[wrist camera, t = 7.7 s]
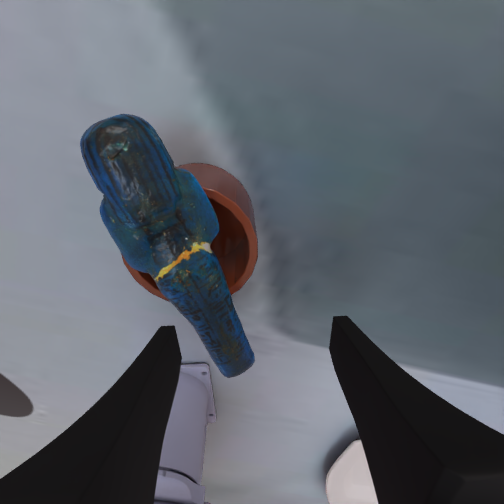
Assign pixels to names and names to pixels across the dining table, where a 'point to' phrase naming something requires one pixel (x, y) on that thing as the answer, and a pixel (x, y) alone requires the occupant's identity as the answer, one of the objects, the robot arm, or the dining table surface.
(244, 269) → the cup
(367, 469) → the plate
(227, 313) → the figurine
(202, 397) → the robot arm
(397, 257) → the dining table surface
